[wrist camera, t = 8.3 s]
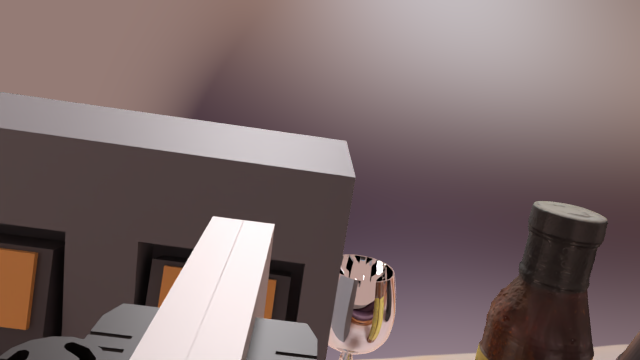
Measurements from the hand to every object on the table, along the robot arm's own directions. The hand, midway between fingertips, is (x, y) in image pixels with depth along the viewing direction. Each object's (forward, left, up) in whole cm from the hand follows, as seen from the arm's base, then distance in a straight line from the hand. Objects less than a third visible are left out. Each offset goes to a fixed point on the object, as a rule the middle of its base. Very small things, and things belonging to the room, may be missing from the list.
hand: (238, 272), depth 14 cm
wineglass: (-6, -24, -22) cm, 33 cm away
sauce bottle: (-16, -17, -22) cm, 32 cm away
